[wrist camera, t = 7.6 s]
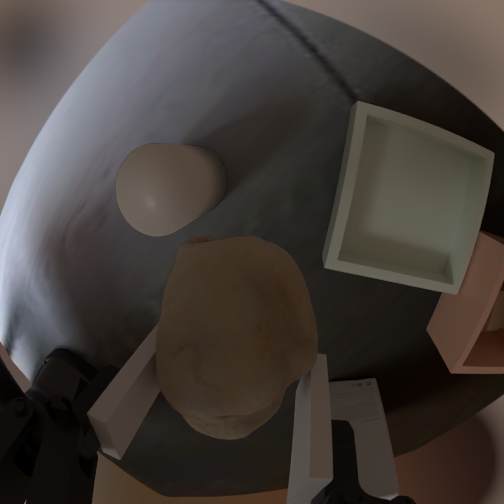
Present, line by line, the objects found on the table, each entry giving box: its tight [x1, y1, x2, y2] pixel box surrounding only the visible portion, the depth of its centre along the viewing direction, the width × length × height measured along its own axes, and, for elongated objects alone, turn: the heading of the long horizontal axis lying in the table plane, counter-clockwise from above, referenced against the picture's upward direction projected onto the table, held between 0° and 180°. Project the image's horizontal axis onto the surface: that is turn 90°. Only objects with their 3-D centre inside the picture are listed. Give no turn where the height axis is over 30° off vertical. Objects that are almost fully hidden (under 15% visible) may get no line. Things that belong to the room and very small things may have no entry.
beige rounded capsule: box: [116, 143, 227, 237], centre depth 20 cm, size 6×6×7 cm
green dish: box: [322, 101, 495, 295], centre depth 20 cm, size 12×12×3 cm
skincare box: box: [328, 378, 399, 500], centre depth 22 cm, size 8×6×15 cm
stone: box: [156, 236, 318, 440], centre depth 11 cm, size 7×6×8 cm
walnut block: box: [483, 280, 504, 331], centre depth 19 cm, size 4×4×4 cm
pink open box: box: [426, 229, 504, 374], centre depth 18 cm, size 11×11×7 cm
